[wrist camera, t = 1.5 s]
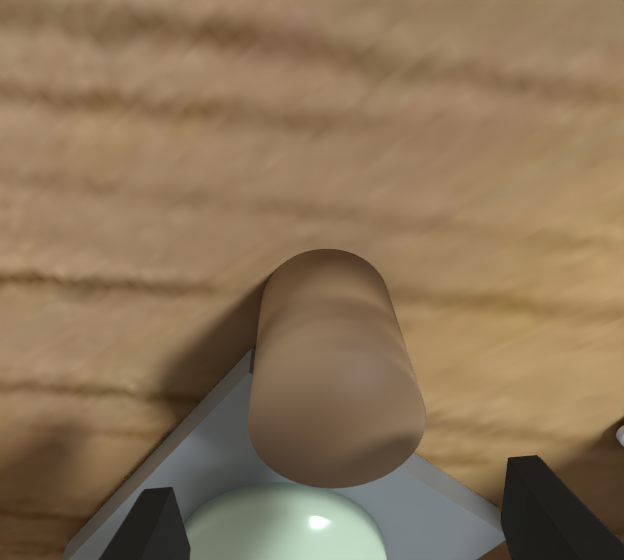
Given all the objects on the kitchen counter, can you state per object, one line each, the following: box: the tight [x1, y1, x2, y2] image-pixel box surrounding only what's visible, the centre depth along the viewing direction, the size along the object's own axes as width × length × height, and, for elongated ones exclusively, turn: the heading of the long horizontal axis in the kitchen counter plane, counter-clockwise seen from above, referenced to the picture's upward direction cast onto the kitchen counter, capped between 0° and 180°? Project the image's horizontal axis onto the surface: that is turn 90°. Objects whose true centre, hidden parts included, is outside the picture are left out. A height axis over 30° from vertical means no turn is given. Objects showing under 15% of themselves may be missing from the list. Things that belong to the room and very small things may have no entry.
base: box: [61, 348, 505, 560], centre depth 23 cm, size 14×14×3 cm
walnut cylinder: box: [248, 249, 426, 489], centre depth 16 cm, size 5×5×6 cm
